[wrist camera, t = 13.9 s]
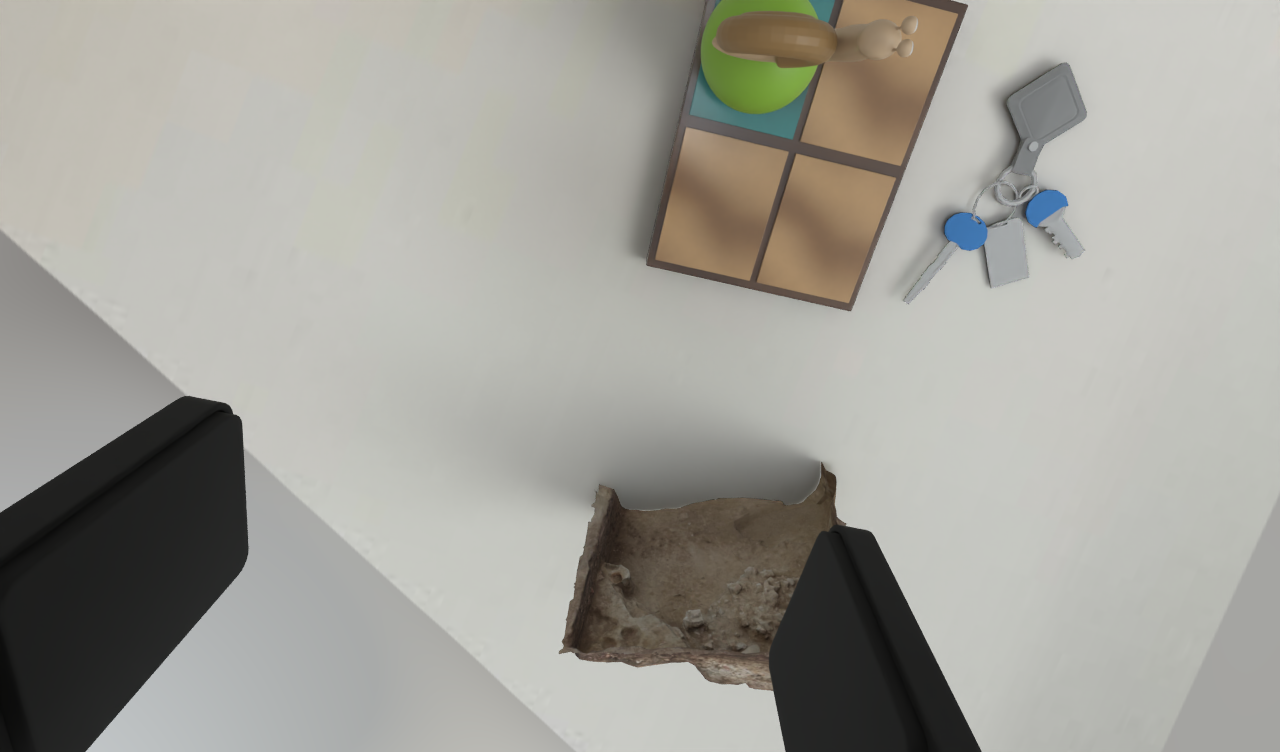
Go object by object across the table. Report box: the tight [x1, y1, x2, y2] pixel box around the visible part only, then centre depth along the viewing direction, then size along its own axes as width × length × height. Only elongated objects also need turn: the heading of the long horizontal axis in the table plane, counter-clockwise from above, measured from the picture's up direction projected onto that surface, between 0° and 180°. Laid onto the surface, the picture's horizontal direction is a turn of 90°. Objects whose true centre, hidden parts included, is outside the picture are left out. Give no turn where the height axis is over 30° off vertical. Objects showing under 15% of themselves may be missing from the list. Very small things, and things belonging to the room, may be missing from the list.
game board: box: [646, 0, 968, 311], centre depth 33 cm, size 16×12×1 cm
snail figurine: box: [701, 0, 918, 114], centre depth 26 cm, size 5×6×12 cm
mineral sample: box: [559, 462, 846, 691], centre depth 37 cm, size 17×4×15 cm, turn 95°
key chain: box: [903, 63, 1087, 304], centre depth 35 cm, size 14×8×1 cm, turn 161°
